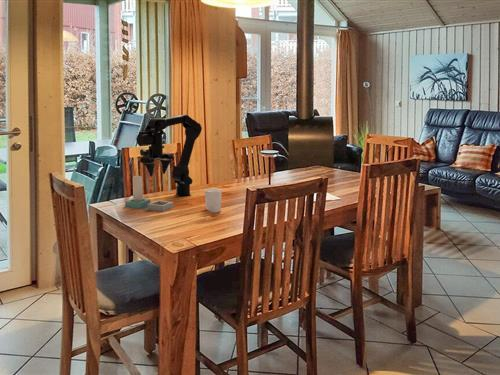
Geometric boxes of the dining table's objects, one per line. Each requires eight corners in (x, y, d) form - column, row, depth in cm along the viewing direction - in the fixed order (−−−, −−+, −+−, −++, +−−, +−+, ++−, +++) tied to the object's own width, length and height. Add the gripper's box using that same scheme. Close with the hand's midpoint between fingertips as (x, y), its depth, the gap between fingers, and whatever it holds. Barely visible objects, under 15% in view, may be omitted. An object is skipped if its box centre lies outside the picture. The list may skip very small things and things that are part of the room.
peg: (143, 204, 250) (143, 175, 247) (141, 206, 245) (141, 177, 243) (134, 204, 250) (133, 175, 247) (132, 206, 245) (131, 177, 243)
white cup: (215, 213, 237) (215, 192, 235) (201, 211, 241) (201, 190, 239) (225, 210, 244) (225, 189, 242) (211, 208, 248) (211, 187, 246)
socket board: (175, 208, 246) (175, 201, 245) (162, 214, 236) (162, 206, 235) (137, 204, 254) (136, 197, 254) (122, 209, 245) (122, 201, 244)
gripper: (157, 141, 269) (158, 170, 272) (131, 144, 254) (132, 176, 257) (173, 142, 263) (174, 173, 266) (148, 146, 248) (149, 178, 251)
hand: (157, 175), depth 260 cm, fingers open, 9 cm apart
